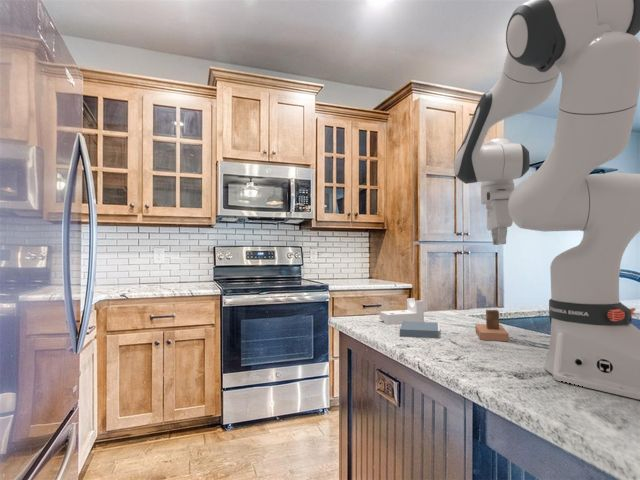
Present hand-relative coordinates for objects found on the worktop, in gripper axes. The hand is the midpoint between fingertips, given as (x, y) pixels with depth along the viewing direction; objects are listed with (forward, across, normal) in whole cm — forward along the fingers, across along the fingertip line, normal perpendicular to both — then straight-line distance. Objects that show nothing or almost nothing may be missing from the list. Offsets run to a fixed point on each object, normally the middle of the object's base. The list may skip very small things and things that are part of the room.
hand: (499, 244), depth 109 cm
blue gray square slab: (+26, +2, -22) cm, 34 cm away
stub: (+26, +2, -3) cm, 26 cm away
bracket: (+26, -14, -29) cm, 41 cm away
